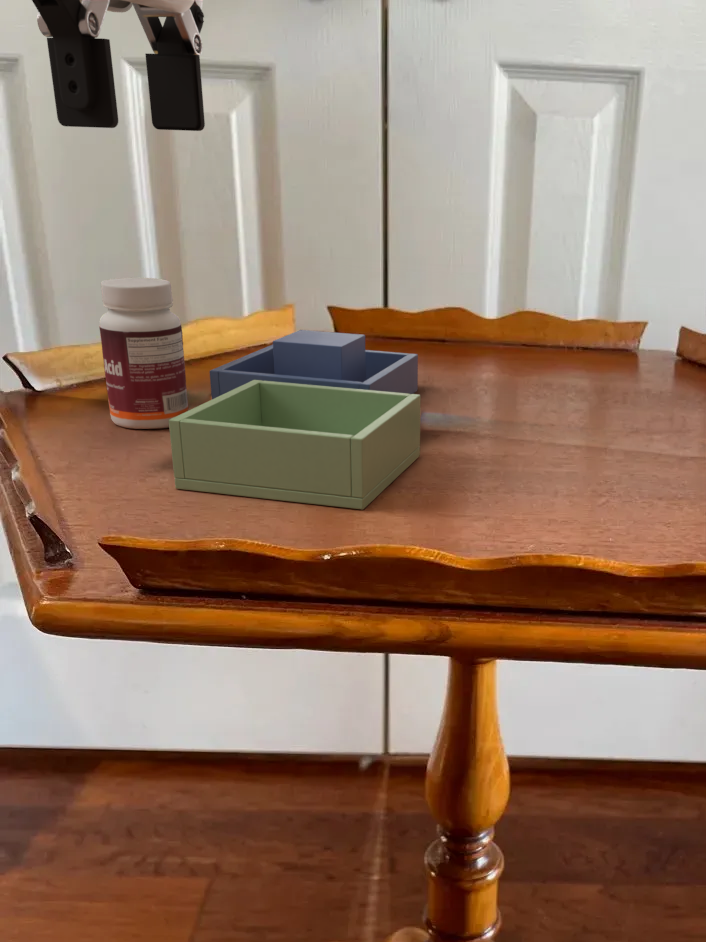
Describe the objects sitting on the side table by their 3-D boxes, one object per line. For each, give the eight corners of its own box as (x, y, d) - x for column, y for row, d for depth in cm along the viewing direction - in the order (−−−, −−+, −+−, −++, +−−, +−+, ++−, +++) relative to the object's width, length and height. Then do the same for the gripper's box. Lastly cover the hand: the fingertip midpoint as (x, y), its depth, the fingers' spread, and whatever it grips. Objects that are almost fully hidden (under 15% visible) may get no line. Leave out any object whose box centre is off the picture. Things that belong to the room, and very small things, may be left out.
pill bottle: (104, 415, 66) (87, 277, 62) (180, 409, 68) (167, 275, 64) (118, 433, 62) (100, 287, 58) (197, 426, 64) (185, 285, 60)
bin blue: (213, 429, 64) (209, 370, 62) (279, 394, 72) (276, 342, 71) (370, 444, 62) (369, 384, 60) (417, 407, 71) (418, 354, 69)
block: (276, 413, 65) (272, 340, 63) (302, 398, 69) (300, 329, 67) (343, 419, 64) (341, 346, 62) (366, 404, 68) (365, 334, 66)
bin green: (174, 489, 53) (168, 419, 51) (257, 439, 62) (253, 379, 60) (363, 510, 51) (362, 438, 49) (420, 456, 60) (420, 394, 58)
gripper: (120, -206, 58) (153, 129, 66) (-96, -330, 43) (-22, 123, 51) (243, -210, 57) (262, 133, 65) (63, -340, 42) (115, 128, 49)
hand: (137, 128), depth 58 cm, fingers open, 9 cm apart
